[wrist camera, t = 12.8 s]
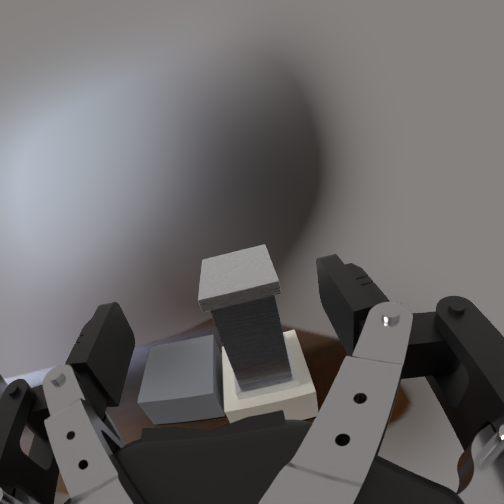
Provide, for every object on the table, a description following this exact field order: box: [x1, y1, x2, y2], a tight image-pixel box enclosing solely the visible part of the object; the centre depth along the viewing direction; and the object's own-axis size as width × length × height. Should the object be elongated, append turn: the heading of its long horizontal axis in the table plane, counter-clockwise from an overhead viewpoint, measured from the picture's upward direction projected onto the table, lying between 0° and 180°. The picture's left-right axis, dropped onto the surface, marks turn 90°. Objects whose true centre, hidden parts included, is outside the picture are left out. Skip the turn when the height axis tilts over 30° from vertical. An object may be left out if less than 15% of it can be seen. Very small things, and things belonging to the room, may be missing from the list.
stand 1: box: [137, 335, 225, 425], centre depth 31 cm, size 8×9×4 cm
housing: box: [198, 244, 300, 400], centre depth 25 cm, size 6×6×11 cm
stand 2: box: [222, 330, 318, 423], centre depth 28 cm, size 8×9×4 cm
